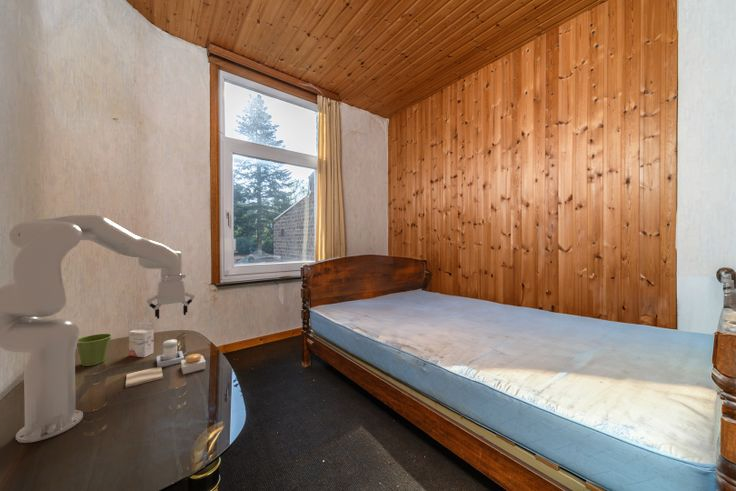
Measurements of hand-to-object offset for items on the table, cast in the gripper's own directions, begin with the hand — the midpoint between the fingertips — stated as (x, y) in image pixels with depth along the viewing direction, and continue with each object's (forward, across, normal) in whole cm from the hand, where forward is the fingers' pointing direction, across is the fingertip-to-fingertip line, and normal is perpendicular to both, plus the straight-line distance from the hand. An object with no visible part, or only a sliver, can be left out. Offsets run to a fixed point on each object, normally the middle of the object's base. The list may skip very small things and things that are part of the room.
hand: (171, 316), depth 120 cm
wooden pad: (+20, +9, +10) cm, 25 cm away
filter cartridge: (+20, +1, -1) cm, 21 cm away
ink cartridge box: (+21, +11, -18) cm, 29 cm away
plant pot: (+21, +27, -19) cm, 39 cm away
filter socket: (+20, +1, -1) cm, 21 cm away
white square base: (+20, -7, +13) cm, 25 cm away
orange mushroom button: (+20, -7, +13) cm, 25 cm away
